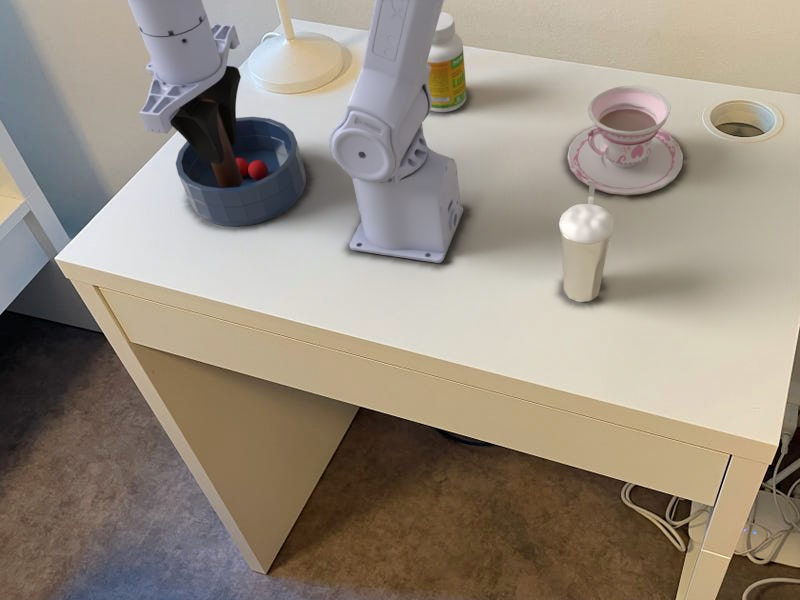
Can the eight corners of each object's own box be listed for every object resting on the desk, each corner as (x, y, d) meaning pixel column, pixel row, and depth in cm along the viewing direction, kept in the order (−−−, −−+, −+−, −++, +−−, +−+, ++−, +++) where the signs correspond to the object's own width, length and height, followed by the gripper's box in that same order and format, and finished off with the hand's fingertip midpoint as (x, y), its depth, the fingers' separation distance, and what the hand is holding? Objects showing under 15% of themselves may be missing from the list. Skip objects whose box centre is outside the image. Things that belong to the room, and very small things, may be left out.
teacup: (632, 112, 91) (638, 62, 86) (706, 167, 85) (717, 116, 80) (544, 152, 88) (545, 102, 83) (615, 213, 81) (620, 162, 76)
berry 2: (273, 173, 87) (268, 157, 85) (265, 185, 86) (260, 169, 84) (255, 170, 87) (250, 155, 86) (248, 182, 86) (242, 167, 85)
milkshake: (611, 269, 76) (619, 184, 68) (603, 311, 73) (611, 227, 65) (562, 263, 77) (566, 178, 69) (553, 304, 74) (555, 220, 66)
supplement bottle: (461, 115, 93) (454, 35, 85) (415, 112, 93) (404, 32, 86) (471, 88, 96) (465, 8, 88) (426, 85, 97) (417, 6, 89)
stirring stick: (247, 176, 83) (220, 100, 76) (236, 191, 82) (209, 115, 75) (225, 173, 84) (197, 97, 77) (215, 188, 83) (185, 112, 76)
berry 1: (254, 170, 87) (249, 155, 86) (246, 182, 86) (241, 167, 85) (237, 168, 88) (232, 153, 86) (229, 180, 86) (224, 164, 85)
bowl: (323, 158, 89) (314, 123, 85) (278, 233, 82) (266, 199, 78) (222, 145, 91) (209, 111, 88) (169, 217, 84) (154, 183, 81)
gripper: (171, -26, 74) (216, 103, 85) (84, 61, 66) (147, 193, 76) (241, -20, 73) (278, 111, 84) (162, 70, 64) (215, 203, 75)
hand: (220, 151), depth 80 cm, fingers closed on stirring stick, 2 cm apart
